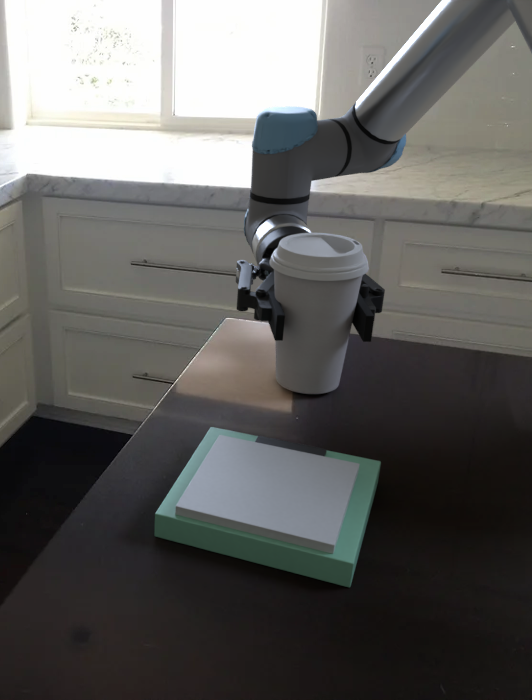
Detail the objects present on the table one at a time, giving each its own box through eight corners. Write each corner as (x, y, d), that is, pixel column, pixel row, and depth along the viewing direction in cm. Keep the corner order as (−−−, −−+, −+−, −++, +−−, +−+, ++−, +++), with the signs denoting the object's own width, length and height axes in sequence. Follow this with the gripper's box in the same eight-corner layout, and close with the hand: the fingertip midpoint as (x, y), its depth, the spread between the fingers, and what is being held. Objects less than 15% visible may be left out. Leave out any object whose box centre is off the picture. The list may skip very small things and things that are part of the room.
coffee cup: (352, 406, 86) (370, 263, 80) (255, 394, 89) (265, 255, 83) (356, 366, 94) (372, 233, 88) (267, 356, 97) (276, 227, 91)
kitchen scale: (209, 446, 81) (211, 418, 79) (377, 482, 75) (382, 452, 73) (153, 536, 68) (154, 504, 67) (350, 588, 62) (355, 554, 61)
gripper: (370, 284, 105) (427, 365, 85) (200, 283, 107) (214, 361, 86) (378, 225, 102) (439, 293, 82) (203, 224, 104) (219, 291, 83)
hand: (324, 328), depth 84 cm, fingers closed on coffee cup, 8 cm apart
